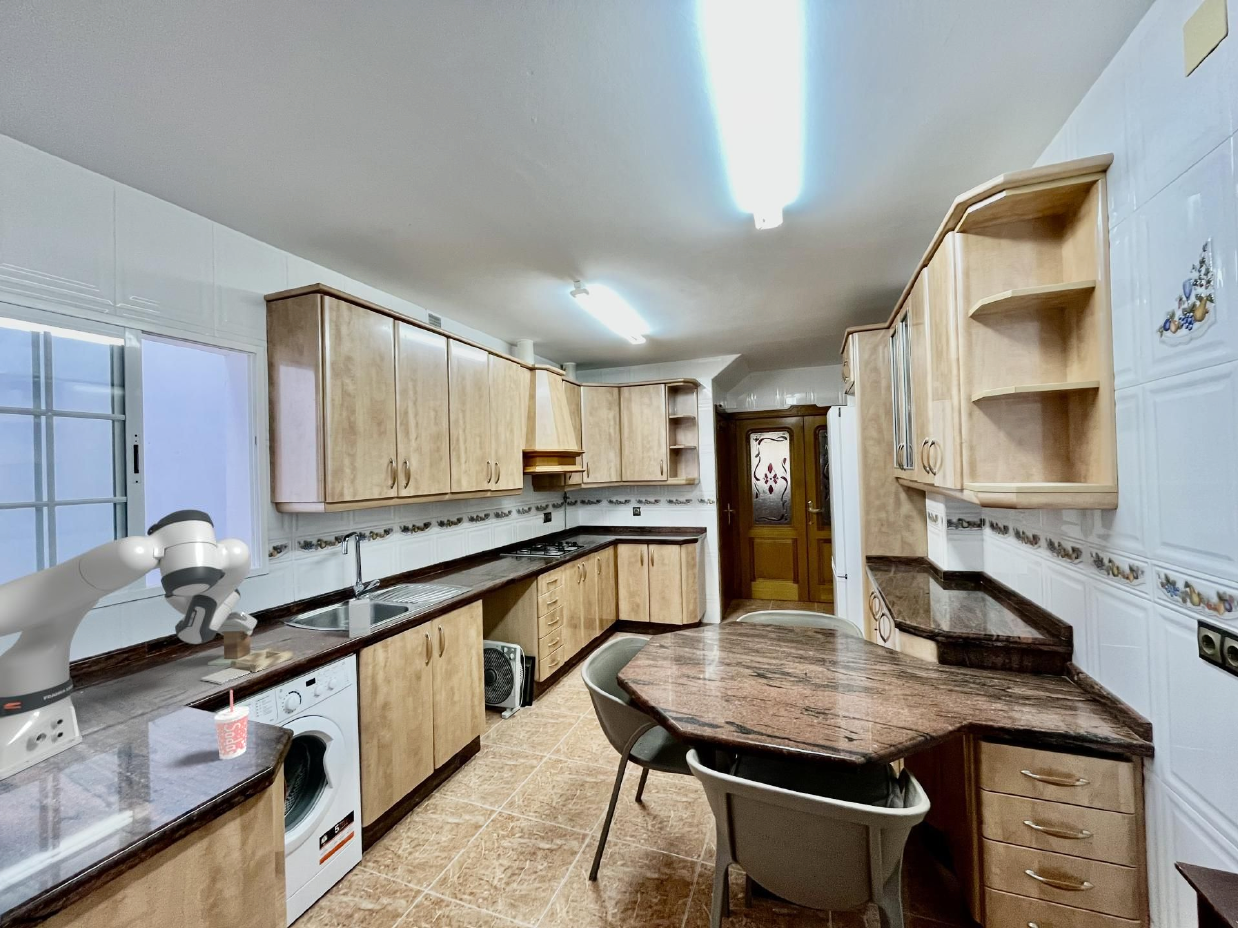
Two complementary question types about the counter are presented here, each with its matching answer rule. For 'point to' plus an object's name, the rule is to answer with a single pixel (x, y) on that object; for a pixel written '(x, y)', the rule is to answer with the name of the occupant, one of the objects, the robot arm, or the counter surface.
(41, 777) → the counter surface
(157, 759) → the counter surface
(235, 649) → the walnut block
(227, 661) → the coaster
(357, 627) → the supplement box
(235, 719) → the beverage cup
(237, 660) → the puzzle board
